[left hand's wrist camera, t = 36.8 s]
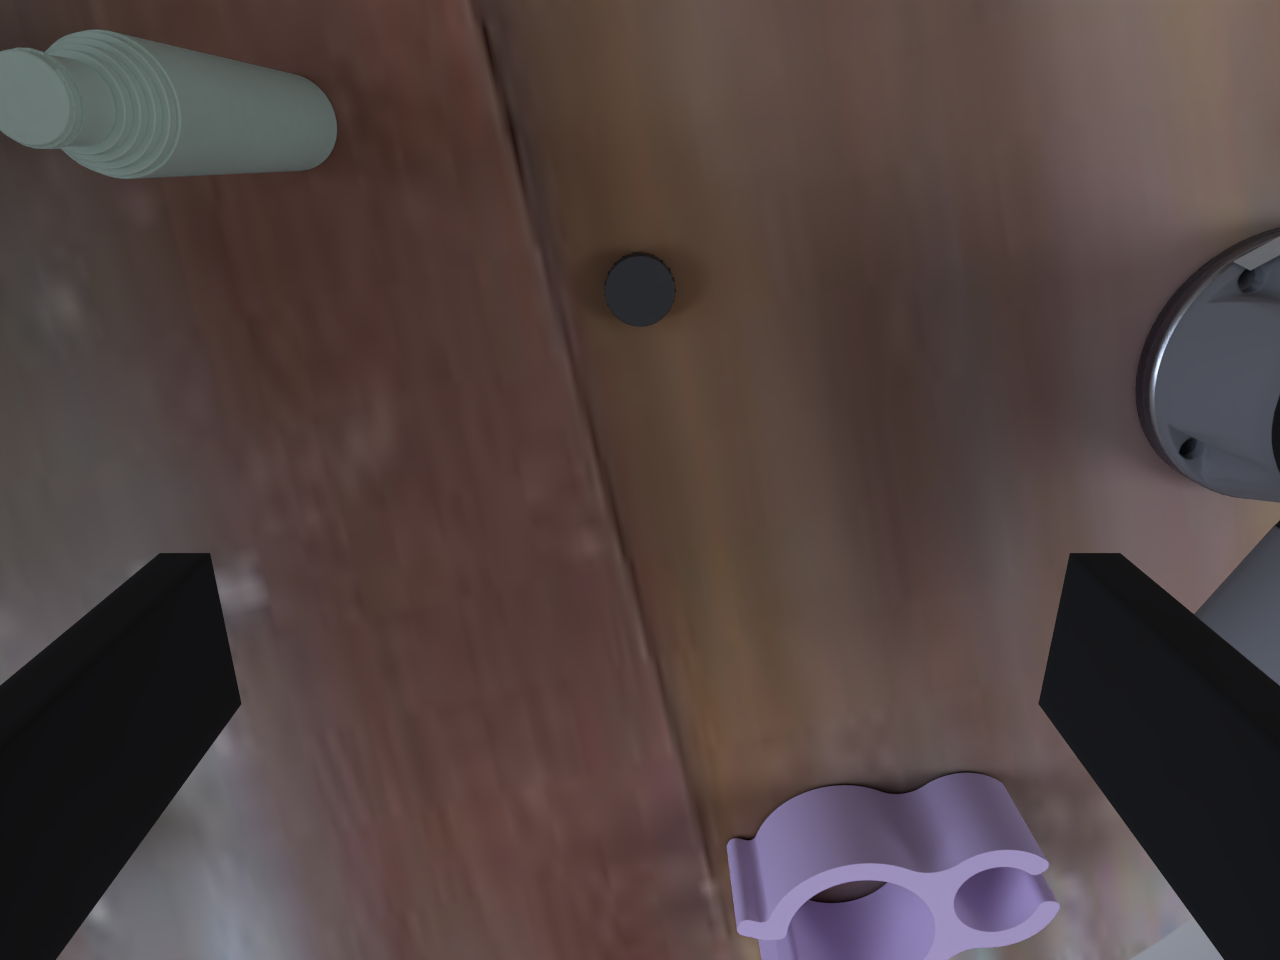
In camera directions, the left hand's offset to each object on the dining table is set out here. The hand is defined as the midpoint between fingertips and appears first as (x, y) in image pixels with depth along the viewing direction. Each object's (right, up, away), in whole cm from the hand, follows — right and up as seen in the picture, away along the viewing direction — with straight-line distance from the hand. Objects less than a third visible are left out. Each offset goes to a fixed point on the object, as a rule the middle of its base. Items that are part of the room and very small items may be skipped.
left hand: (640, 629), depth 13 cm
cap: (0, +13, +32) cm, 34 cm away
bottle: (-18, +21, +30) cm, 41 cm away
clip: (+17, -24, +48) cm, 56 cm away
